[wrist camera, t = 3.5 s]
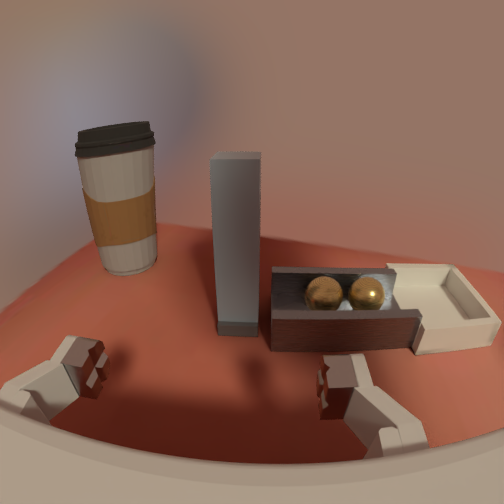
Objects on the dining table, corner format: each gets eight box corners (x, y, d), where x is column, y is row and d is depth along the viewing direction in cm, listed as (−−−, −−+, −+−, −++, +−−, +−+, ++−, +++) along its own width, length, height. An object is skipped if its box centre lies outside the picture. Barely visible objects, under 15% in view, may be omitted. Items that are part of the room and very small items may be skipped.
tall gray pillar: (259, 306, 28) (261, 150, 22) (257, 336, 24) (259, 160, 18) (224, 305, 28) (218, 150, 22) (218, 335, 24) (208, 160, 19)
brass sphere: (336, 300, 27) (341, 269, 25) (342, 322, 24) (349, 290, 23) (301, 300, 27) (304, 268, 25) (304, 323, 24) (308, 289, 23)
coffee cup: (177, 269, 33) (165, 121, 27) (100, 290, 29) (73, 135, 23) (154, 241, 40) (143, 120, 33) (91, 256, 36) (71, 131, 29)
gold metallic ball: (375, 300, 26) (382, 270, 25) (384, 321, 24) (393, 289, 22) (342, 300, 27) (347, 269, 25) (349, 322, 24) (355, 290, 23)
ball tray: (447, 284, 30) (453, 264, 29) (490, 345, 21) (501, 322, 20) (381, 285, 30) (386, 263, 29) (415, 355, 21) (425, 329, 20)
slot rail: (386, 296, 29) (393, 268, 27) (411, 347, 22) (422, 316, 21) (270, 295, 29) (272, 266, 28) (270, 351, 23) (272, 318, 21)
